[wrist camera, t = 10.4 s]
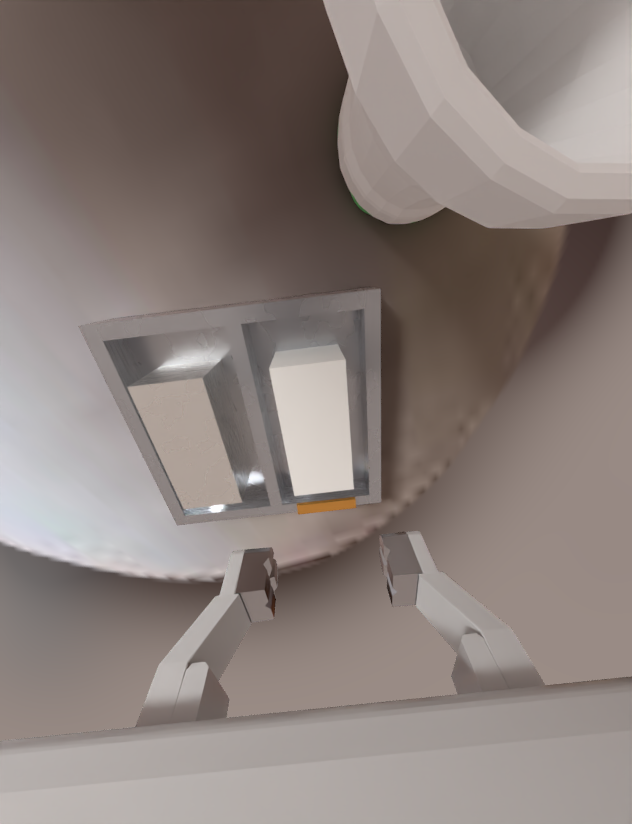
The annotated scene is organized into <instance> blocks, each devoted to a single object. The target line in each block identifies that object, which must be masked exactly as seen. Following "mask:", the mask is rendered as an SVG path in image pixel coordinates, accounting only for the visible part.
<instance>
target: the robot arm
mask: <svg viewBox="0 0 632 824" xmlns="http://www.w3.org/2000/svg"><path fill="white" fill-rule="evenodd" d="M379 542H380V546H381V548H380V549H379V554H380V562H381V566H382V571H383V575H384V576H385V577H386V578H387V589H388V593H389V597H390V600H391V604H392V607H394V606H408V605H416V607H417V608H418V609H419V610H420V612H421V613H422V614H423V615H424V616H425V617H426V619H427V620H428V621H429V622H430V623H431V624H432V625H433V627H434V628H435V629H436V630H437V631H438V632H439V634H440V635H441V636H442V637H443V638H444V639H445V640H446V641H447V643H448V644H449V645H450V646H451V647H452V649H453V650H454V651H455V652H456V653H457V657H456V661H455V664H454V668H453V672H452V676H451V677H452V680H453V683H454V685H455V688H456V691H457V694H455V695H445V696H435V697H426V698H416V699H407V700H396V701H386V702H377V703H367V704H359V705H358V704H357V705H347V706H339V707H338V706H337V707H328V708H318V709H308V710H298V711H288V712H279V713H269V714H260V715H249V716H239V717H230V718H226V717H227V711H228V705H229V698H228V696H227V694H226V692H225V691H224V689H223V688H222V686H221V685H220V683H219V682H218V681H219V680H220V678H221V676H222V674H223V673H224V671H225V669H226V667H227V666H228V664H229V662H230V660H231V659H232V657H233V655H234V653H235V652H236V650H237V648H238V647H239V645H240V643H241V641H242V640H243V638H244V636H245V634H246V633H247V631H248V629H249V628H250V626H251V623H252V622H259V621H266V620H273V619H274V617H275V606H276V597H275V594H274V590H275V589H276V588H277V583H278V569H277V563H276V560H275V559H273V555H274V552H273V549H272V547H270V548H259V549H248V550H237V551H233V552H232V554H231V555H230V559H229V563H228V566H227V570H226V574H225V578H224V581H223V585H222V589H221V593H220V596H216V597H215V598H214V599H213V600H212V601H211V603H210V604H209V605H208V606H207V607H206V609H205V610H204V611H203V612H202V613H201V615H200V616H199V617H198V618H197V620H196V621H195V622H194V623H193V624H192V625H191V627H190V628H189V629H188V630H187V631H186V633H185V634H184V635H183V637H182V638H181V639H180V640H179V641H178V642H177V644H176V645H175V646H174V647H173V648H172V650H171V651H170V652H169V653H168V654H167V656H166V657H165V658H164V660H163V661H162V662H161V663H160V664H159V666H158V669H157V671H156V674H155V676H154V679H153V682H152V685H151V687H150V690H149V692H148V695H147V698H146V700H145V703H144V705H143V708H142V711H141V713H140V716H139V719H138V721H137V724H136V726H135V727H132V728H123V729H112V730H102V731H93V732H83V733H73V734H64V735H53V736H44V737H34V738H24V739H16V740H5V741H0V824H632V677H622V678H613V679H602V680H592V681H583V682H573V683H563V684H553V685H545V684H544V682H543V680H542V679H541V677H540V675H539V673H538V672H537V670H536V669H535V667H534V665H533V663H532V662H531V660H530V658H529V657H528V655H527V653H526V652H525V650H524V648H523V646H522V645H521V643H520V642H519V640H518V638H517V636H516V635H515V633H514V631H513V630H512V628H511V627H509V626H508V625H507V624H506V623H504V622H503V621H502V620H501V619H500V618H498V617H497V616H496V615H495V614H494V613H493V612H491V611H490V610H489V609H488V608H486V607H485V606H484V605H483V604H482V603H480V602H479V601H478V600H477V599H476V598H474V597H473V596H472V595H471V594H469V593H468V592H467V591H466V590H464V589H463V588H462V587H461V586H460V585H459V584H457V583H456V582H455V581H454V580H453V579H451V578H450V577H449V576H448V575H447V574H445V573H444V572H439V571H438V569H437V567H436V565H435V562H434V560H433V558H432V556H431V554H430V552H429V550H428V547H427V545H426V543H425V541H424V539H423V537H422V535H421V533H420V532H419V531H410V532H398V533H391V534H383V535H380V536H379Z"/></svg>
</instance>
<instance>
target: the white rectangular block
mask: <svg viewBox="0 0 632 824" xmlns="http://www.w3.org/2000/svg"><path fill="white" fill-rule="evenodd" d="M269 371H270V376H271V381H272V386H273V391H274V396H275V401H276V406H277V411H278V416H279V421H280V426H281V431H282V436H283V441H284V446H285V451H286V456H287V461H288V466H289V471H290V476H291V481H292V486H293V491H294V496H299V495H308V494H316V493H325V492H334V491H343V490H351V489H354V483H353V468H352V452H351V437H350V421H349V406H348V390H347V375H346V359H345V357H344V355H343V354H342V352H341V350H340V348H339V346H338V344H335V345H327V346H319V347H311V348H303V349H295V350H286V351H278V352H275V354H274V357H273V360H272V362H271V365H270V367H269Z"/></svg>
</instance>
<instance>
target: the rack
mask: <svg viewBox="0 0 632 824" xmlns="http://www.w3.org/2000/svg"><path fill="white" fill-rule="evenodd" d="M78 327H79V329H80V331H81V333H82V335H83V337H84V339H85V341H86V343H87V345H88V347H89V349H90V351H91V353H92V355H93V357H94V359H95V361H96V363H97V365H98V367H99V369H100V371H101V373H102V375H103V377H104V379H105V381H106V383H107V385H108V387H109V389H110V391H111V393H112V395H113V397H114V399H115V401H116V403H117V405H118V407H119V409H120V411H121V413H122V415H123V417H124V419H125V421H126V423H127V425H128V427H129V429H130V431H131V433H132V435H133V437H134V439H135V441H136V443H137V445H138V447H139V449H140V451H141V453H142V455H143V457H144V459H145V461H146V463H147V466H148V468H149V470H150V472H151V474H152V476H153V478H154V480H155V482H156V484H157V486H158V488H159V490H160V492H161V494H162V496H163V498H164V500H165V502H166V504H167V506H168V508H169V510H170V512H171V514H172V516H173V518H174V520H175V522H176V524H177V525H185V524H193V523H202V522H211V521H220V520H229V519H238V518H247V517H256V516H264V515H273V514H282V513H291V512H298V514H306V513H315V512H324V511H333V510H342V509H351V508H356V505H362V504H371V503H380V502H381V289H380V288H373V287H365V288H357V289H349V290H341V291H333V292H325V293H317V294H309V295H301V296H293V297H285V298H277V299H269V300H261V301H253V302H245V303H237V304H229V305H220V306H212V307H204V308H196V309H188V310H180V311H172V312H164V313H156V314H148V315H140V316H132V317H124V318H116V319H109V320H104V321H100V322H95V323H90V324H86V325H81V326H78ZM335 344H338V346H339V348H340V350H341V352H342V354H343V355H344V357H345V359H346V375H347V390H348V406H349V421H350V437H351V452H352V468H353V483H354V489H351V490H343V491H334V492H325V493H316V494H308V495H299V496H294V491H293V486H292V481H291V476H290V471H289V466H288V461H287V456H286V451H285V446H284V441H283V436H282V431H281V426H280V421H279V416H278V411H277V406H276V401H275V396H274V391H273V386H272V381H271V376H270V371H269V367H270V365H271V362H272V360H273V357H274V354H275V352H278V351H286V350H295V349H303V348H311V347H319V346H327V345H335Z"/></svg>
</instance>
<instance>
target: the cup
mask: <svg viewBox="0 0 632 824" xmlns="http://www.w3.org/2000/svg"><path fill="white" fill-rule="evenodd" d="M323 2H324V5H325V9H326V12H327V15H328V17H329V20H330V23H331V26H332V29H333V32H334V35H335V37H336V40H337V43H338V46H339V49H340V52H341V55H342V57H343V60H344V63H345V66H346V69H347V72H348V75H349V77H348V81H347V85H346V89H345V93H344V97H343V101H342V105H341V110H340V115H339V123H338V132H337V134H338V143H337V144H338V154H339V163H340V169H341V172H342V174H343V177H344V179H345V182H346V184H347V187H348V189H349V191H350V193H351V196H352V198H353V200H354V202H355V203H356V205H357V206H358V207H359V208H360V209H361V210H362V211H363V212H365V213H367V214H369V215H371V216H373V217H375V218H377V219H379V220H381V221H383V222H385V223H388V224H408V223H414V222H417V221H420V220H423V219H425V218H427V217H429V216H431V215H433V214H435V213H437V212H438V211H440V210H442V209H443V208H445V207H447V208H449V209H451V210H453V211H455V212H457V213H459V214H461V215H463V216H465V217H467V218H469V219H471V220H473V221H475V222H477V223H479V224H481V225H483V226H485V227H487V228H522V229H544V228H550V227H556V226H562V225H568V224H573V223H579V222H585V221H591V220H597V219H603V218H608V217H614V216H620V215H626V214H631V213H632V0H323Z"/></svg>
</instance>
